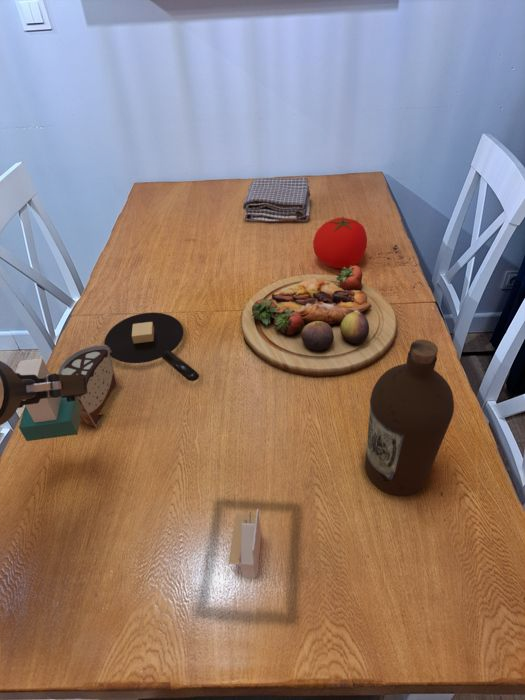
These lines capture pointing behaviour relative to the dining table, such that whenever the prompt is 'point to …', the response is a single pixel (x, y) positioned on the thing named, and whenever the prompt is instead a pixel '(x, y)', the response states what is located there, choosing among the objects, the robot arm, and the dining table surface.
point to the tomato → (340, 242)
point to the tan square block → (143, 332)
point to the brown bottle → (407, 422)
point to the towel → (277, 200)
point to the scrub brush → (47, 409)
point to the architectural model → (246, 544)
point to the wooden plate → (319, 323)
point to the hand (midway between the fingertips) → (51, 390)
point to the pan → (164, 342)
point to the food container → (92, 379)
